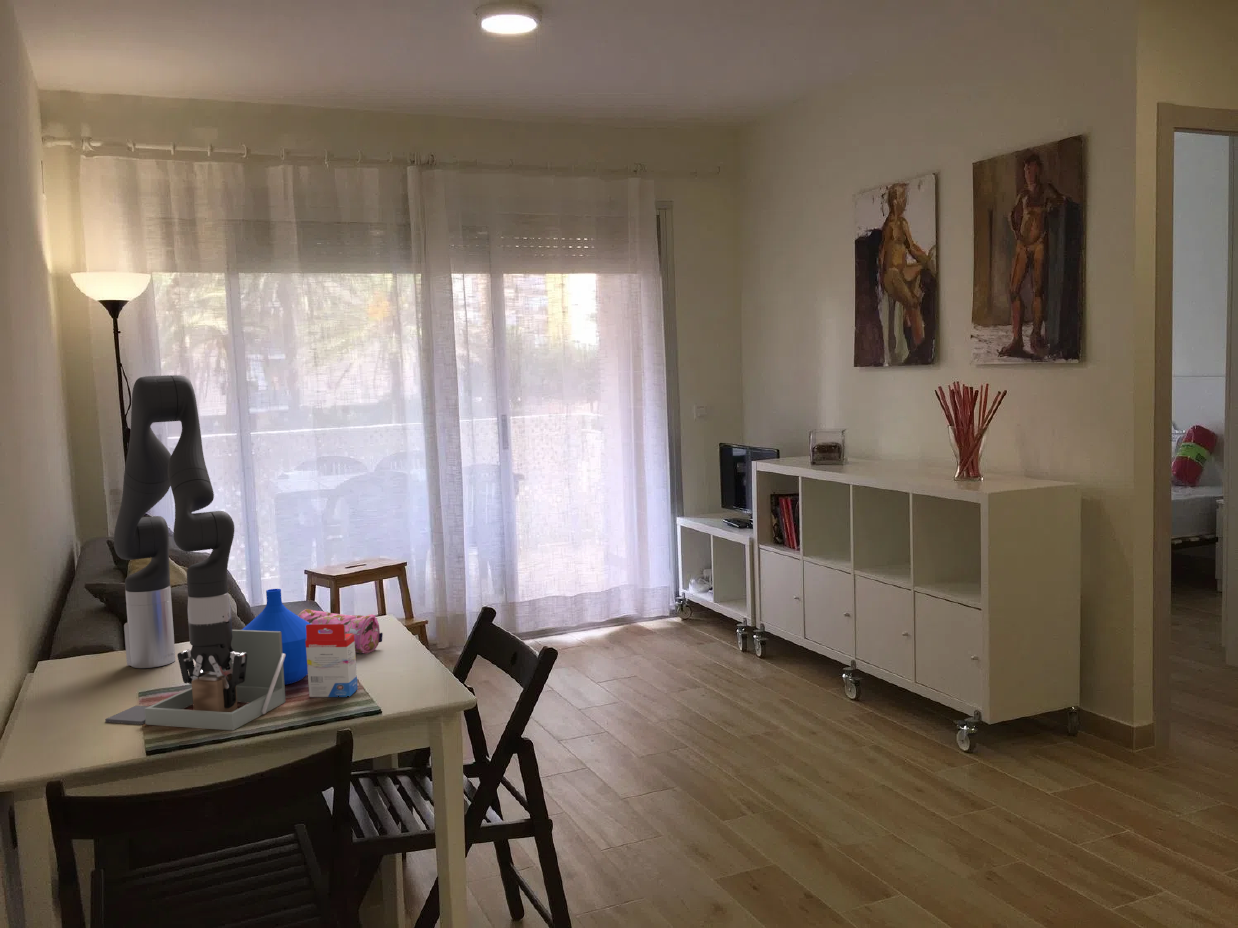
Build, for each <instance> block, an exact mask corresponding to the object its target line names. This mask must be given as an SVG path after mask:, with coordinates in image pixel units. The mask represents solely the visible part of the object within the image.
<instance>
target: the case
mask: <svg viewBox="0 0 1238 928" xmlns="http://www.w3.org/2000/svg"><path fill="white" fill-rule="evenodd" d="M232 636H233V638H232V641H231V646H232V648H233V650H234V652H237V653H243V652H246V653H247V665H246V675H245V681H244V682H243V683H240V684H238V685H237V686H236V691H237V703H246V704H245V705H243V706H241V707H239V708H238V709H237V710H235V711H233V712H216V711H200V710H193V709H186V708H189V707H190V706H193V695H192V687H189V688H187V689H185V690H183V691H181V692H178V693H176V694H174V695H172V696H171V695H170V696H169V697H167V698H165V699H163V700H161V701H158V702H156V703H154V704H152V705H148V706H149V707H147V708H145V722H146V723H145V725H148V726H163V727H164V726H165V727H176V728H177V727H178V728H191V729H192V728H193V729H208V730H209V729H210V730H222V731H234V730H236V729H238V728H240V727H242V726H244V725H245V724H248V723H250V722H251V721H253V720H255V719H257V718H258V717H260V716H262V715H266V713H268V712H270V711H272V710H273V709H275V708H277V707H279V706H281V705H283V704H285V703H286V690H285V689H286V686H285V685H284V669H283V661H284V658H285V655H286V654H284V653H283V652H282V635H281V631H256V630H242V629H232ZM230 662H231V665H232V667H233V664H232V659H231V660H230ZM223 671H224V672H225V671H226V669H224V670H223ZM210 672H211V671H210ZM210 672H209V673H210Z"/></svg>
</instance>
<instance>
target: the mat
mask: <svg viewBox="0 0 1238 928" xmlns="http://www.w3.org/2000/svg"><path fill="white" fill-rule="evenodd" d="M149 706H150V705H135V706H134V705H133V706H132V707H130V708H127V709H125V710H122V711H120V712H118V713H115V714H113V715H111V716H109V717H107V718H105V720H104V721H105V723H113V724H129V725H143V724H146V722H145V708H147V707H149Z"/></svg>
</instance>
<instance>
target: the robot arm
mask: <svg viewBox="0 0 1238 928" xmlns="http://www.w3.org/2000/svg"><path fill="white" fill-rule="evenodd" d="M132 387H133V388H132V394H131V405H130V406H131V411H130V434H129V435H130V436H129V442H128V450H127V455H126V458H125V459H126V461H125V466H124V472H123V473H124V474H123V484H122V495H121V502H120V507H119V511H118V515H117V518H116V522H115V526H114V533H113V548H114V551H115V554H116V555H117V557H119V558H120V559H121V560H126V561H132V560H142V559H151V560H150V562H149V563H148V564H147V565H145V566H144V567H143V568H141V569H140V570H138V571H136V572H133V573H132V574H129V575H128V576H127V577H126V578H125V579H124V588H125V590H124V591H125V602H126V616H127V622H125V623H124V625H123V631H124V632H123V633H124V644H125V657H126V666H131V667H132V668H136V669H151V668H157V667H162V666H166V665H170V664H172V663H174V662H175V661H176V657H177V660H178V665H179V669H180V673H181V677H182V681H183V683H184V684H189V685H191V686H192V681H193V680H195V679H199V677H201V676H203V675H205V674H208V673H209V672H210V671H211V672H215V673H216V675H217V677H218V678H219V679H220V680H222V684H223V686H224V688H225V689H223V695H224V707H225V708H230V707H232V706H234V703H235V702H236V690H235V687H236V686H237V685H238V684H240V683H243V682H244V681H245V675H246V665H247V653H246V652H243V653H237V652H234V650H233V648H232V646H231V641H232V638H233V636H232V630H233V626H232V625H233V624H232V609H231V608H232V607H231V601H230V595H229V585H228V583H229V581H228V565H229V559H230V554H231V549H232V545H233V542H234V536H235V522H234V521H233V518H232V517H231V515H230V514H229V513H228V512H226V511H224V510H214V511H205V512H197V511H199V510H202V509H206V508H207V507H208V506H209V505H211V504H212V503H213V501H214V497H215V494H214V488H213V486H212V483H211V482H212V481H211V478H210V476H209V472H208V469H207V465H206V461H205V456H204V451H203V450H204V449H203V441H202V433H201V424H200V418H199V411H198V404H197V397H196V394H195V390H194V387H193V384H192V382H191V380H190V379H189V377H187V376H186V375H177V374H174V375H173V374H172V375H169V374H168V375H148V376H147V375H145V376H142V377H139V378H137V379H136V380H135V381H134V384H133V386H132ZM169 422H170V423H171V422H181V433H180V435H179V439H178V441H177V443H176V445H175V447H174V449H173V451H172V453H170V451H169V450H168V448H167V447H166V446H165V445H164V443H163V442H162V441H161V440H160V439H159V438H158V437H157V436H156V434H155V433H154V431H153V429H152V428H151V427H152V425H153V424H154V423H169ZM170 488H171V492H172V496H173V501H174V522H173V524H174V525H173V541H174V543H175V545H176V547H177V548H179V550H181V551H183V552H188V553H191V552H197V551H199V552H200V551H208V550H211V552H210V554H209V556H208V557H207V558H206V559H204V560H201V561H199V562H197V563H193V564H191V565H189V566H188V567H187V569H186V583H187V587H186V588H187V619H188V620H187V622H188V623H187V625H188V636H189V645H191V649H185V650H183V651H180V652H179V653H177V656H176V651H175V634H174V633H175V632H174V621H173V620H174V619H173V604H172V591H171V590H172V589H171V572H170V570H171V569H170V568H171V567H170V535H169V534H170V533H169V527H168V524H167V521H166V519H165V518H164V517H163V516H161V515H153V516H152V515H151V516H144V515H146V514H147V512H149V511H150V510H151V509H152V508H153V507H154V506H156V504H158V503H160V501H161V500H162V499H163V498H164V497H165V496H166V494H167V493H168V492H169V490H170ZM231 659H232V664H233V667H232V665H231V662H230V660H231ZM194 662H195V664H194ZM224 669H226V671H225V672H224V671H223V670H224ZM227 677H229V680H228V678H227Z"/></svg>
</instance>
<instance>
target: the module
mask: <svg viewBox="0 0 1238 928" xmlns="http://www.w3.org/2000/svg"><path fill="white" fill-rule="evenodd" d="M227 678H228V680H229V677H227ZM191 688H192V695H193V704H192V708H193V709H192V710H200V711H216V712H233V711H235V710H237V709H239V708H238V702H237V691H236V702H235V703H234V706H232V707H230V708H225V707H224V695H223V689H225V688H224V686H223V684H222V680H220V679H219V678H218V677H217V675H216V673H215V672H210V673H208V674H205V675H203V676H201V677H199V679H195V680H193V681H192V685H191ZM235 690H236V687H235Z"/></svg>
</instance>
